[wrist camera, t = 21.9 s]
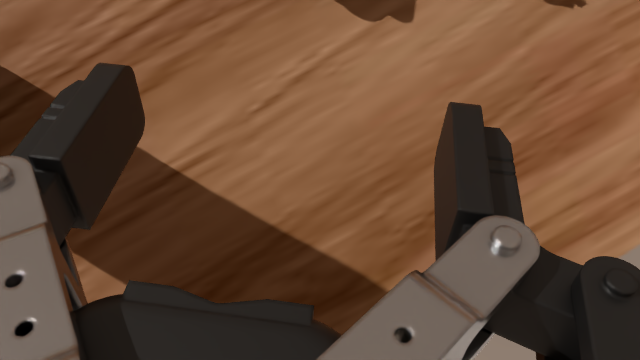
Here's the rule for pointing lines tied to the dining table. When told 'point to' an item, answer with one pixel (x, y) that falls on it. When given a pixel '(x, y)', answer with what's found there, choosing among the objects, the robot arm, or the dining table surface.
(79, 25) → the dining table surface
